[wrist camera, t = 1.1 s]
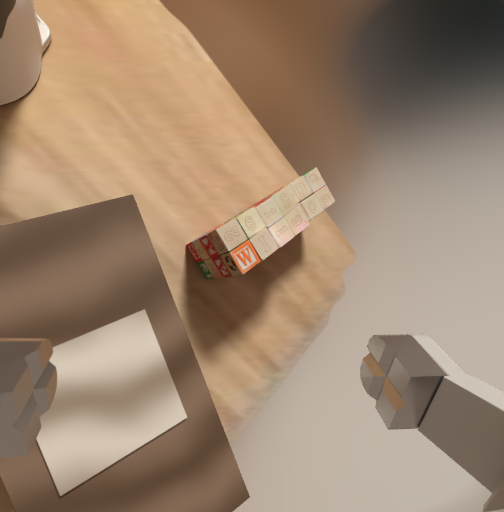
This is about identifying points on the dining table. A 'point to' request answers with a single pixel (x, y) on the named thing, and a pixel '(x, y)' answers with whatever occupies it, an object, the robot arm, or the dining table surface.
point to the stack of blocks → (261, 228)
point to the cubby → (110, 373)
